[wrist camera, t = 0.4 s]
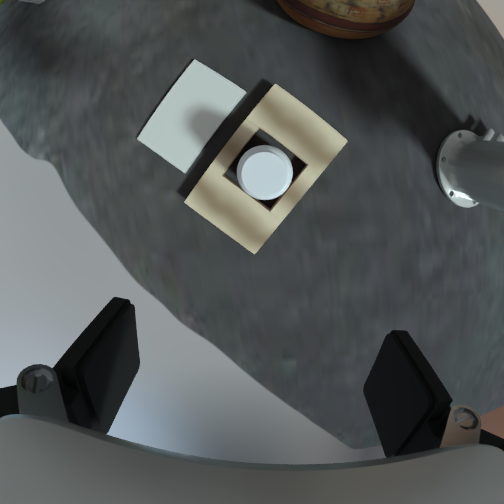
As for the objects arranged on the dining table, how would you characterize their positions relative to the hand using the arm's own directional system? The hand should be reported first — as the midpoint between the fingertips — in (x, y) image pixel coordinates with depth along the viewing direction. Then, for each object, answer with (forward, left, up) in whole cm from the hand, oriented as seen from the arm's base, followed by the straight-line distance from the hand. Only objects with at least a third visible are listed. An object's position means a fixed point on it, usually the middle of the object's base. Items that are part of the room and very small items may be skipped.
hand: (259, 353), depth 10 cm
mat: (-4, -16, -32) cm, 36 cm away
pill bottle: (-4, -3, -32) cm, 33 cm away
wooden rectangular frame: (-4, -3, -32) cm, 32 cm away
